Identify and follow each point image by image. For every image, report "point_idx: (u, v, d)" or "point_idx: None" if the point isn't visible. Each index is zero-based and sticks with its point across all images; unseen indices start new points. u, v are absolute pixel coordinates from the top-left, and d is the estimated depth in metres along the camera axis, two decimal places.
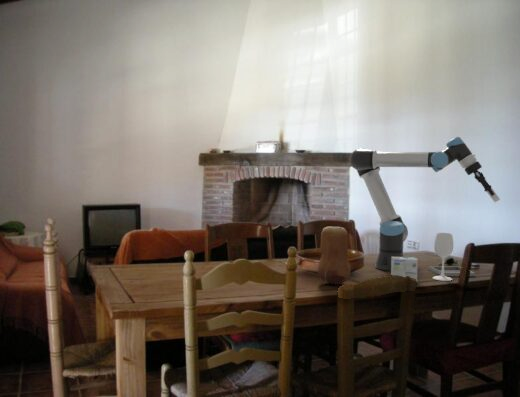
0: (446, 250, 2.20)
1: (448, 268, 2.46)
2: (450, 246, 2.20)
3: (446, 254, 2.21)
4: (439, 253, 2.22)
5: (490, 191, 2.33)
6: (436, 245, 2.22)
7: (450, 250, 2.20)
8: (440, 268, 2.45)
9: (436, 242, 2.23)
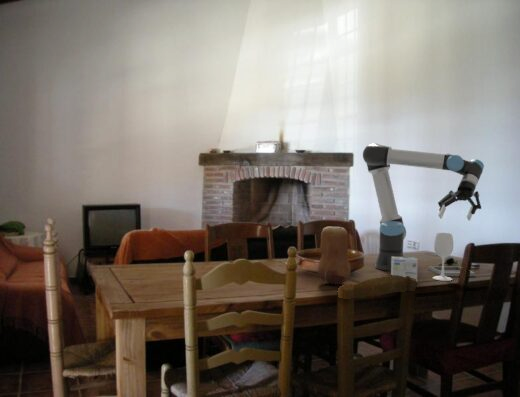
0: (446, 250, 2.20)
1: (448, 268, 2.46)
2: (450, 246, 2.20)
3: (446, 254, 2.21)
4: (439, 253, 2.22)
5: (475, 209, 2.28)
6: (436, 245, 2.22)
7: (450, 250, 2.20)
8: (440, 268, 2.45)
9: (436, 242, 2.23)
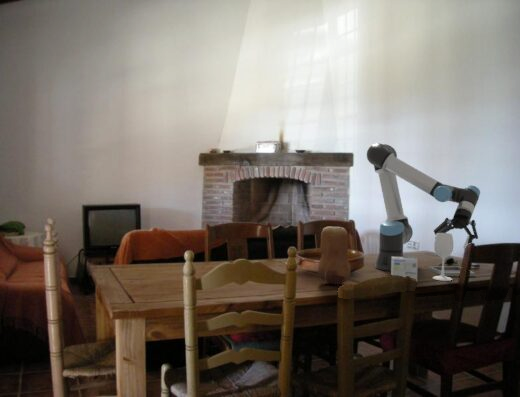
0: (446, 250, 2.20)
1: (448, 268, 2.46)
2: (450, 246, 2.20)
3: (446, 254, 2.21)
4: (439, 253, 2.22)
5: (471, 239, 2.22)
6: (436, 245, 2.22)
7: (450, 250, 2.20)
8: (440, 268, 2.45)
9: (436, 242, 2.23)
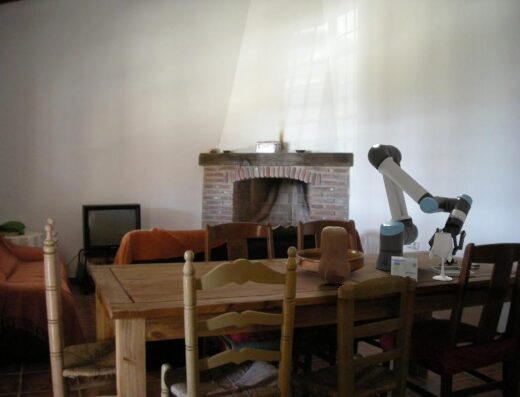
0: (445, 250, 2.20)
1: (448, 268, 2.46)
2: (449, 246, 2.20)
3: (445, 254, 2.21)
4: (438, 253, 2.22)
5: (456, 251, 2.20)
6: (435, 245, 2.23)
7: (449, 250, 2.21)
8: (440, 268, 2.45)
9: (435, 242, 2.23)
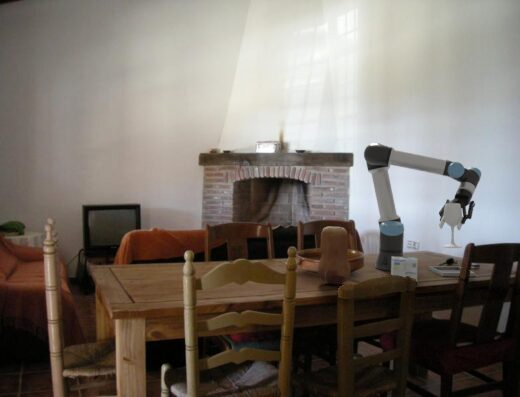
0: (455, 219, 2.32)
1: (448, 268, 2.46)
2: (459, 215, 2.32)
3: (455, 223, 2.33)
4: (448, 222, 2.34)
5: (465, 219, 2.32)
6: (445, 214, 2.35)
7: (459, 219, 2.32)
8: (440, 268, 2.45)
9: (445, 212, 2.35)
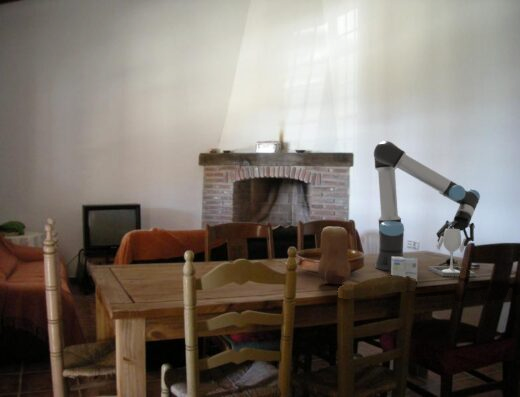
0: (454, 244, 2.35)
1: (448, 268, 2.46)
2: (458, 241, 2.35)
3: (454, 248, 2.35)
4: (448, 247, 2.37)
5: (467, 242, 2.34)
6: (445, 240, 2.37)
7: (458, 244, 2.35)
8: (440, 268, 2.45)
9: (445, 237, 2.37)
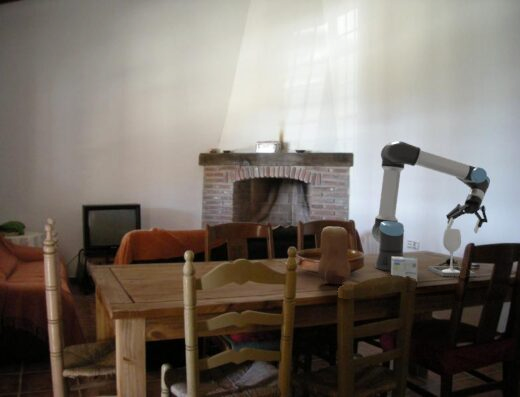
0: (454, 245, 2.34)
1: (448, 268, 2.46)
2: (458, 241, 2.35)
3: (454, 248, 2.35)
4: (448, 247, 2.36)
5: (481, 223, 2.41)
6: (445, 240, 2.37)
7: (458, 245, 2.35)
8: (440, 268, 2.45)
9: (445, 237, 2.37)
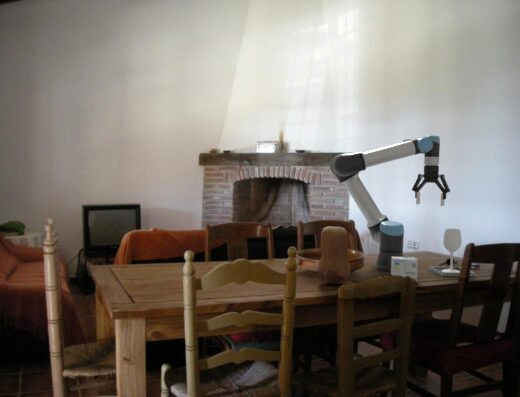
0: (455, 245, 2.34)
1: (448, 268, 2.46)
2: (458, 241, 2.34)
3: (455, 248, 2.35)
4: (448, 248, 2.36)
5: (445, 195, 2.55)
6: (445, 240, 2.37)
7: (458, 245, 2.35)
8: (440, 268, 2.45)
9: (445, 237, 2.37)
